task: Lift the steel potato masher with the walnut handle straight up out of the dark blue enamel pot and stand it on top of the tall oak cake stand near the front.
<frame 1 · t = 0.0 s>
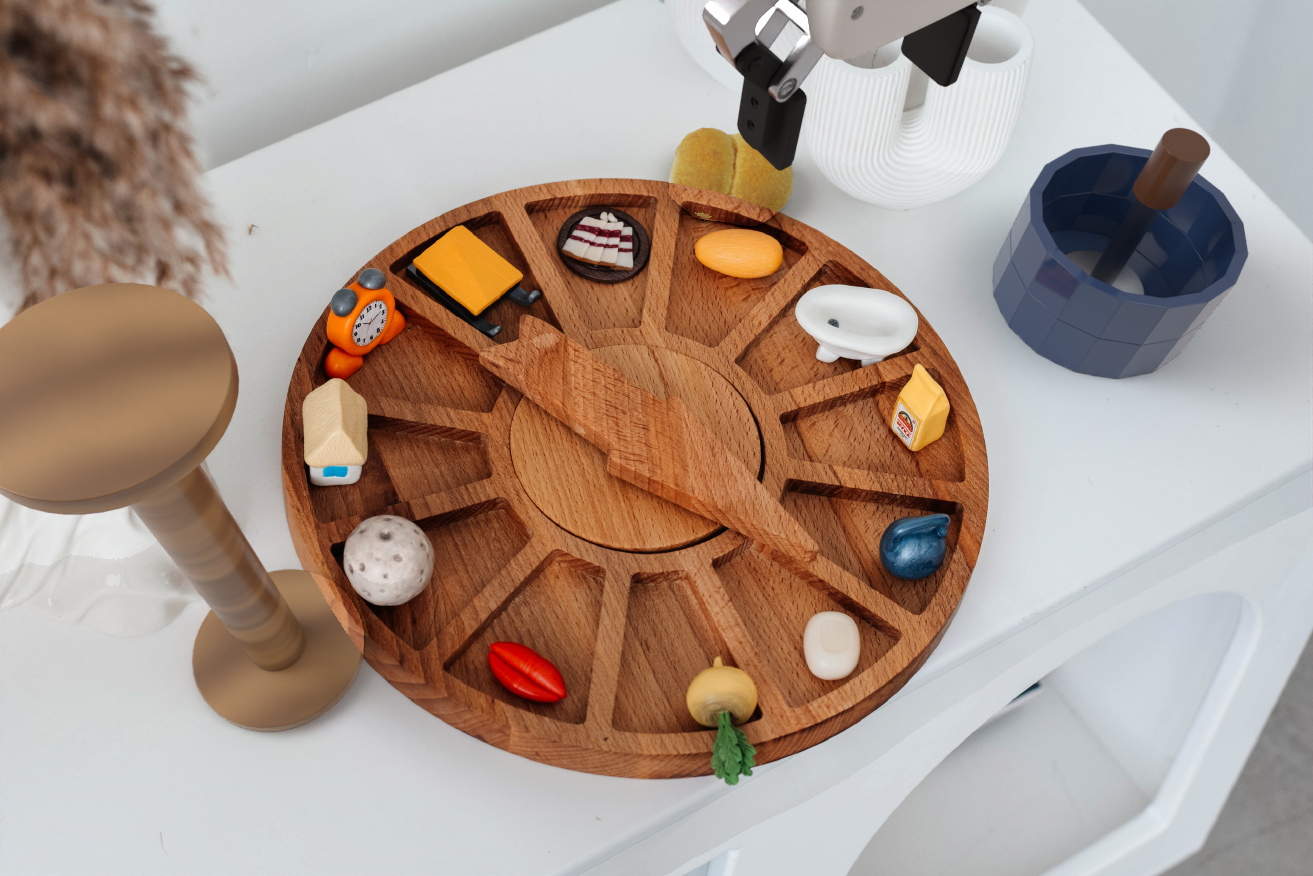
hand: (848, 107, 48), 24 cm above the table, tool pointing down, fingers open, 9 cm apart
masher: (1090, 296, 74), resting on pot
pot: (1088, 300, 75), on the table
cake stand: (281, 650, 59), on the table
bread roll: (725, 192, 79), on the table
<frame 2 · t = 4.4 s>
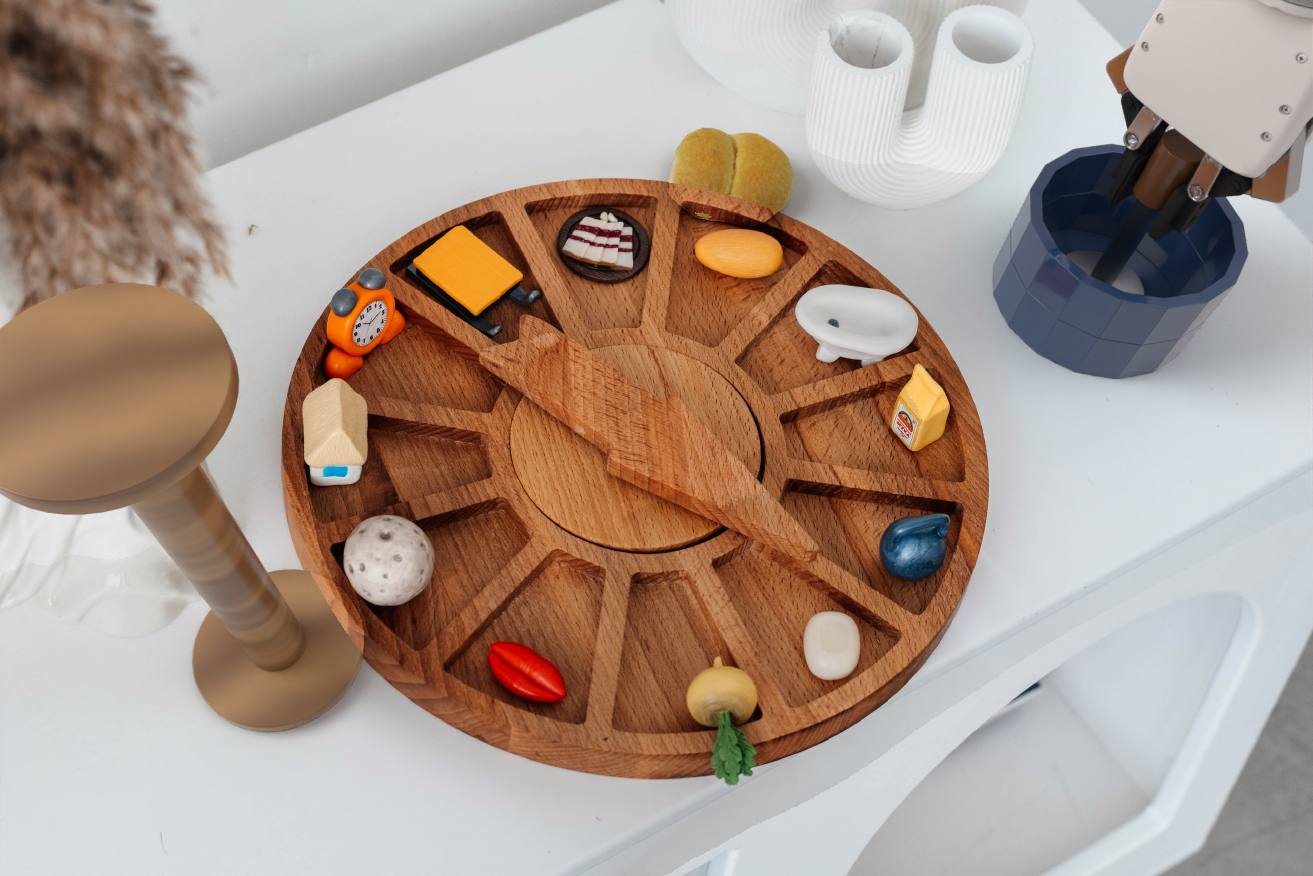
hand: (1145, 209, 67), 9 cm above the table, tool pointing down, fingers closed on masher, 2 cm apart
masher: (1090, 296, 74), point 1 cm above the table, touching gripper, pot
everything else where it was.
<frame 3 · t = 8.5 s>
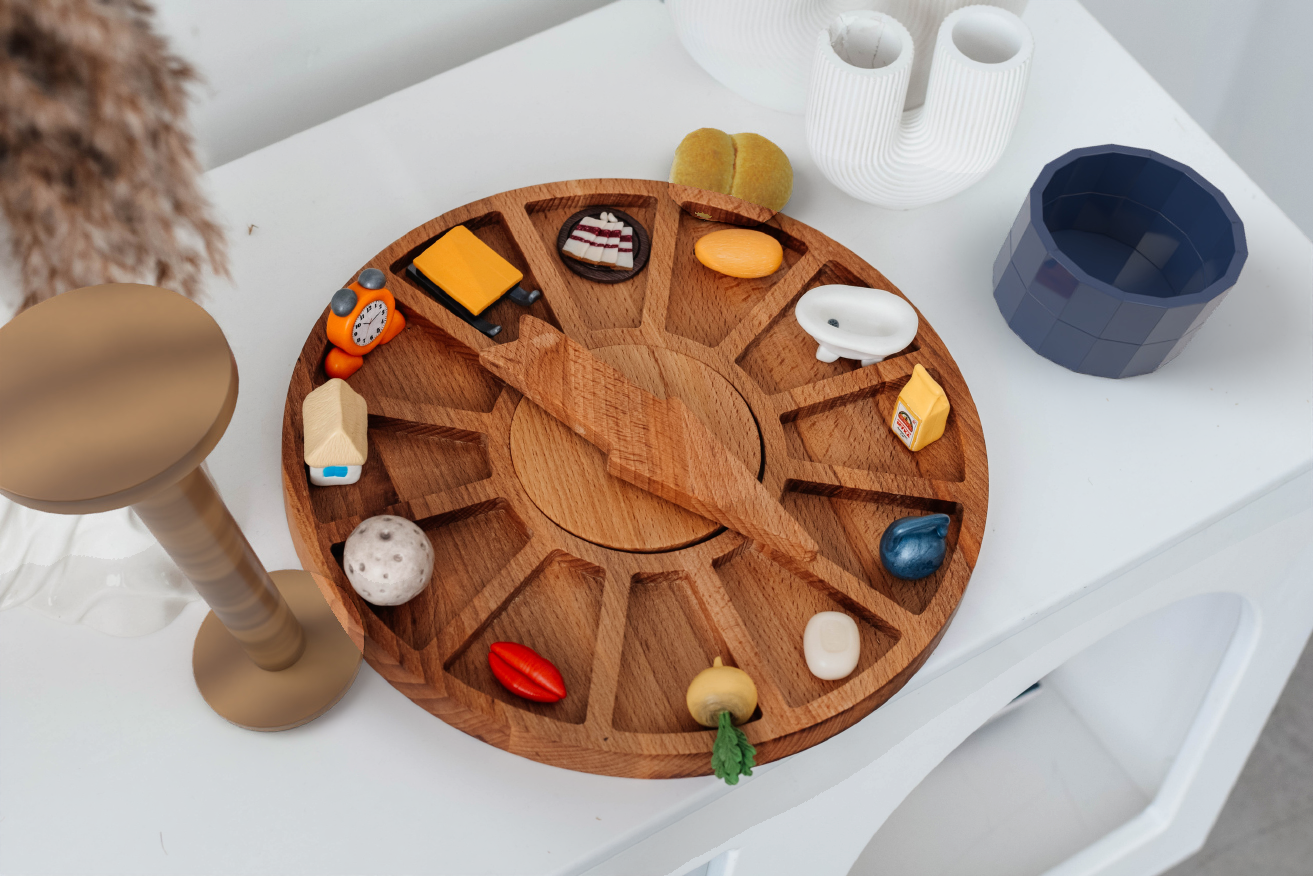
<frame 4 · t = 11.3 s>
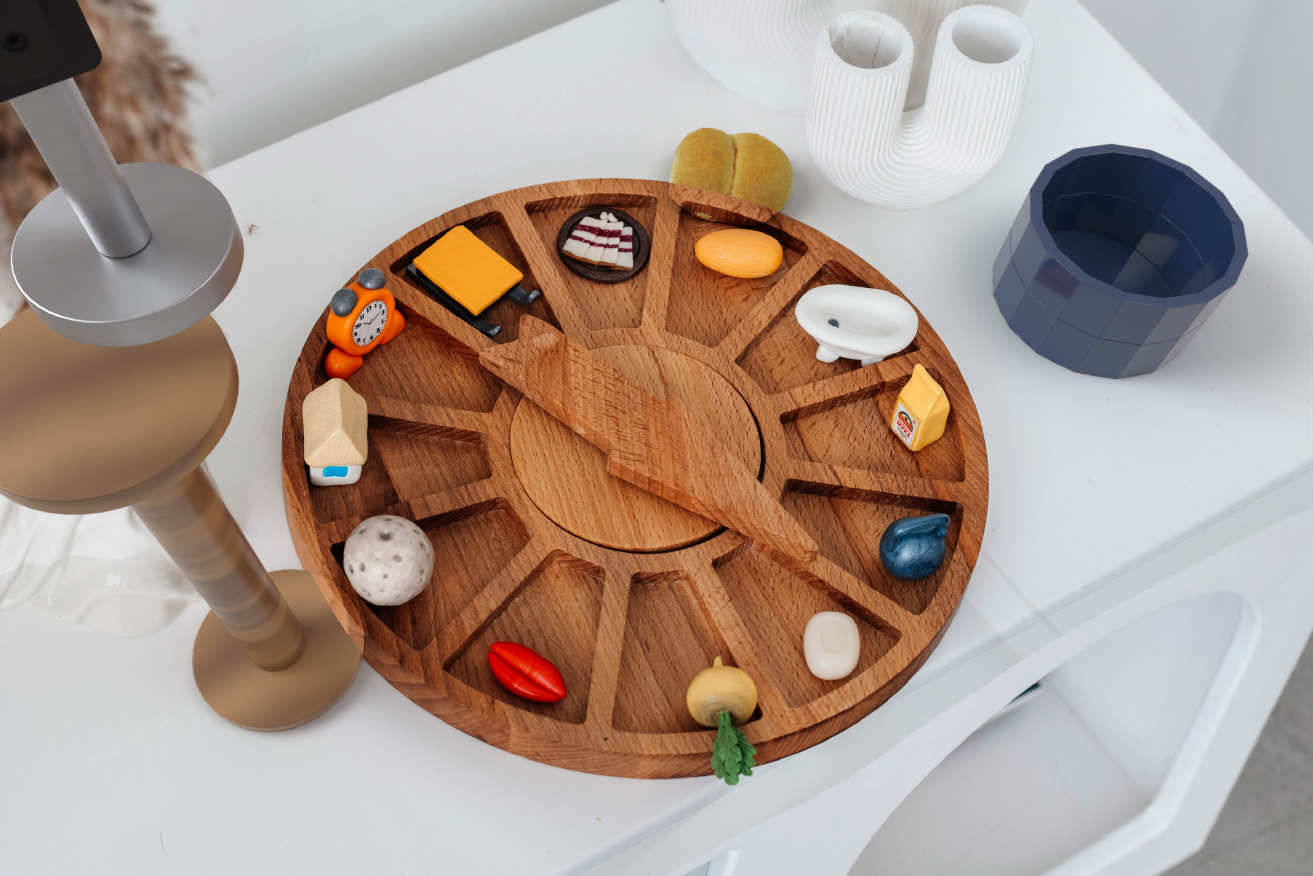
hand: (7, 32, 26), 40 cm above the table, tool pointing down, fingers closed on masher, 2 cm apart
masher: (137, 264, 33), point 31 cm above the table, touching gripper
everything else where it was.
when the fingers open (35 cm above the table, at t = 13.0 s): masher stays where it is, resting on cake stand.
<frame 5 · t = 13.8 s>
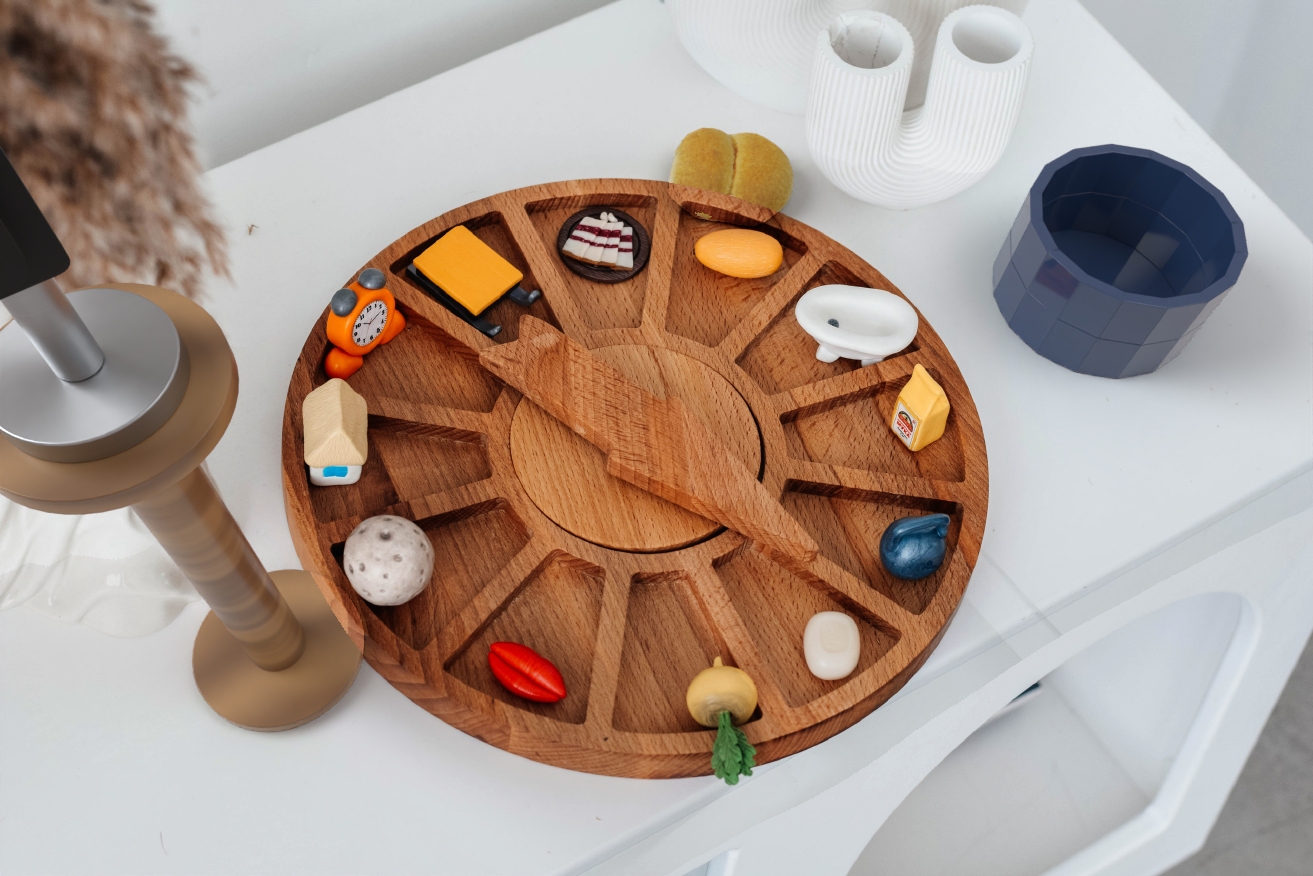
masher: (93, 382, 37), point 26 cm above the table, touching cake stand
everything else where it was.
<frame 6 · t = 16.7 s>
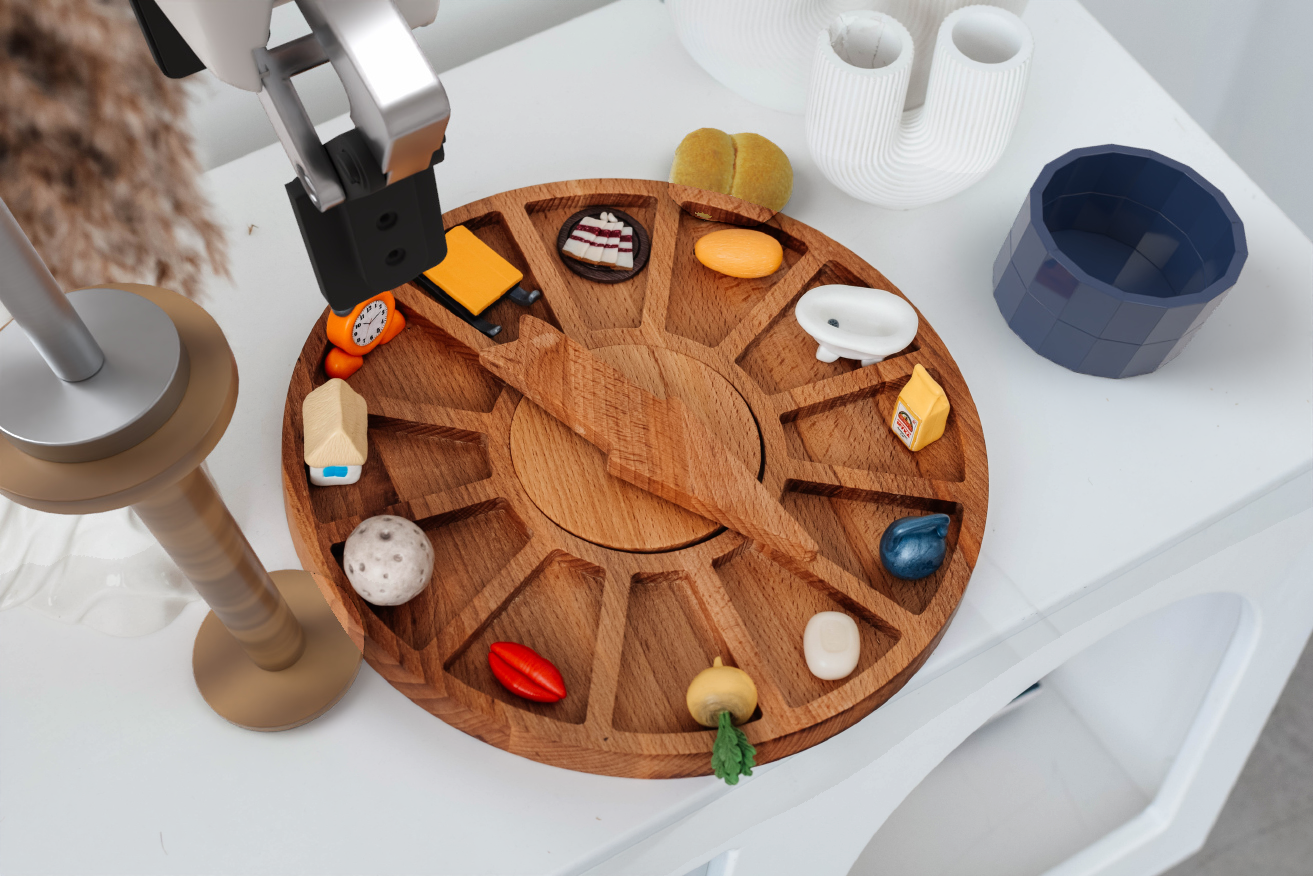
hand: (296, 160, 29), 36 cm above the table, tool pointing down, fingers open, 9 cm apart
nothing on the table moved.
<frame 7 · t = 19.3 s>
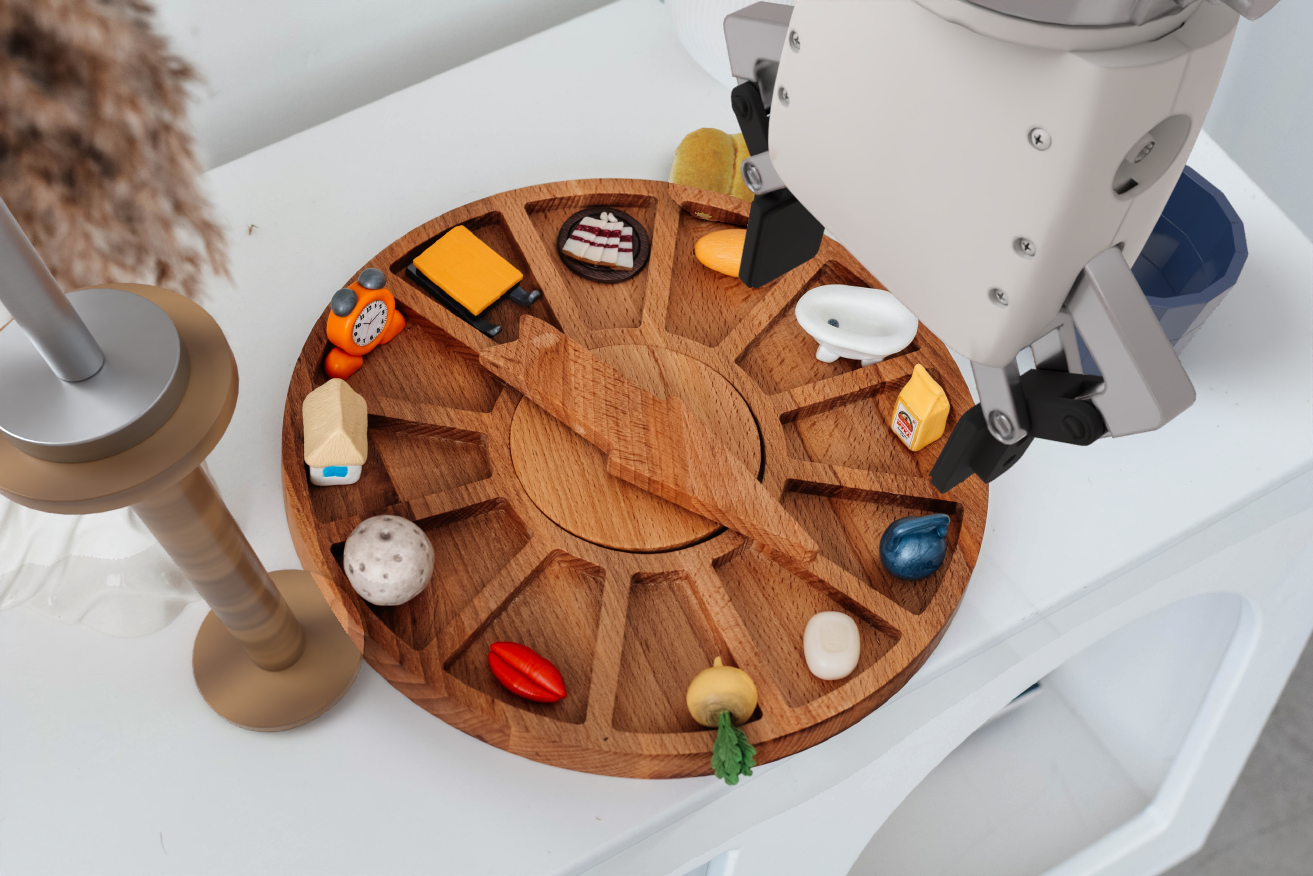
hand: (868, 361, 36), 28 cm above the table, tool pointing down, fingers open, 9 cm apart
nothing on the table moved.
at the end: masher 0.1 cm off-centre on the cake stand, point 26.0 cm above the cake stand's base; masher tilted 0° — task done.
